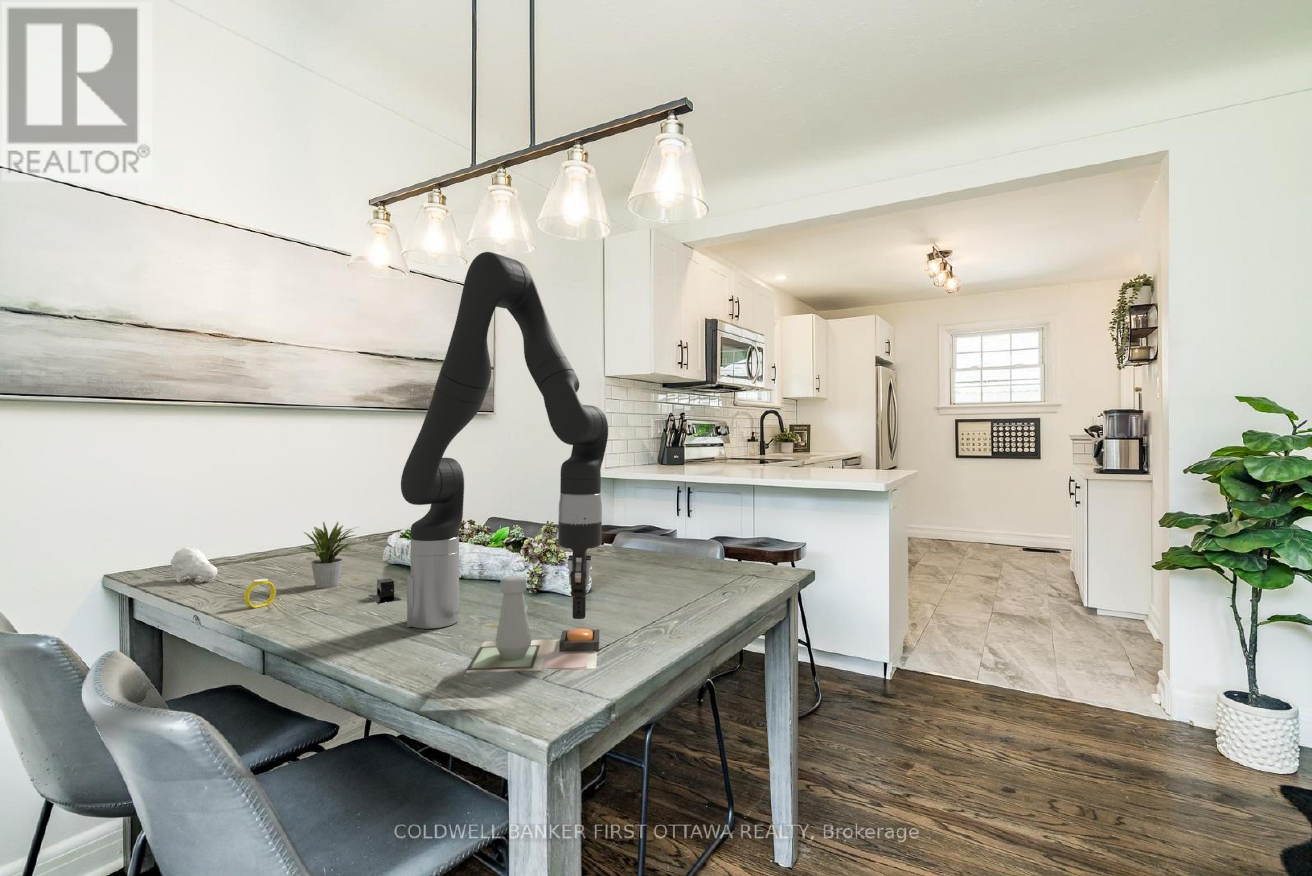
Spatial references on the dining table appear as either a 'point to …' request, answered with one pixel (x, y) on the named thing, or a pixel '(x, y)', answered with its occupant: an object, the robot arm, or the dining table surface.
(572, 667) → the picture board
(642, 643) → the dining table surface
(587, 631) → the button
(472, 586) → the dining table surface
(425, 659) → the dining table surface
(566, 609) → the dining table surface
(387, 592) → the black short block
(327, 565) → the house plant
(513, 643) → the salt shaker
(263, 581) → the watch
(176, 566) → the white fluffy lump
